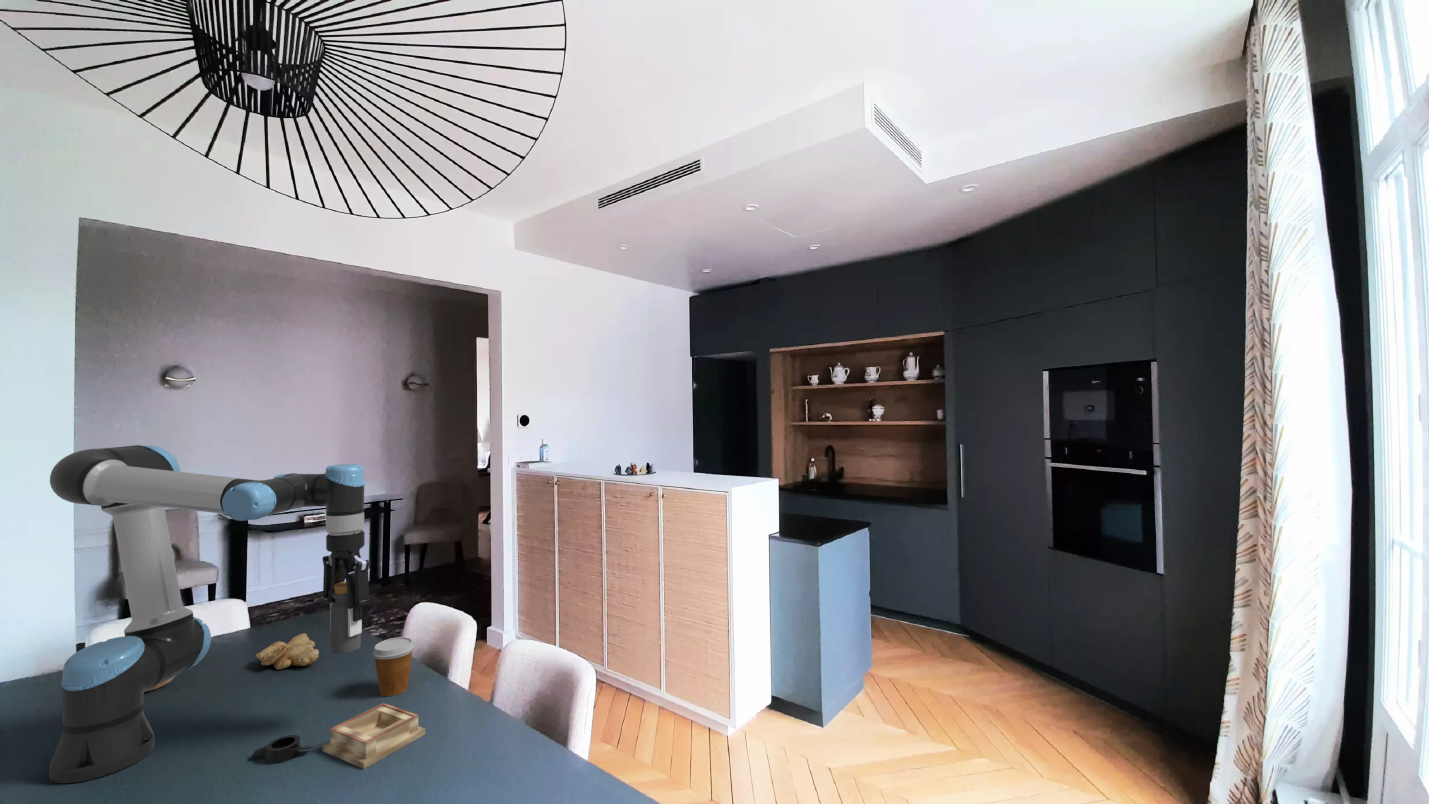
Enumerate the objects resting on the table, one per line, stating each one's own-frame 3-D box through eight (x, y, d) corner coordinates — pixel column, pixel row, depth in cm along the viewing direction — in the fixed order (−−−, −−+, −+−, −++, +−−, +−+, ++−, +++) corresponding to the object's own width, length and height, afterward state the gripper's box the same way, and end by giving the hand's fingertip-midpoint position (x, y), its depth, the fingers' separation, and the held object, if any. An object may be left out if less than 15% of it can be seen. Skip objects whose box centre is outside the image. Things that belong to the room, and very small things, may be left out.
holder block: (322, 750, 125) (322, 729, 125) (384, 719, 137) (384, 699, 137) (364, 769, 119) (364, 746, 119) (425, 734, 131) (425, 713, 131)
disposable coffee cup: (382, 703, 145) (382, 654, 145) (365, 692, 150) (365, 645, 150) (421, 688, 152) (421, 642, 152) (404, 678, 158) (404, 633, 158)
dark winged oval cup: (287, 741, 129) (287, 728, 129) (317, 752, 125) (317, 738, 125) (248, 761, 122) (248, 747, 122) (278, 773, 118) (278, 758, 118)
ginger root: (258, 653, 171) (266, 625, 171) (322, 656, 177) (329, 630, 178) (242, 678, 157) (250, 648, 157) (311, 680, 163) (319, 652, 164)
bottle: (346, 655, 132) (346, 588, 132) (324, 653, 134) (324, 586, 134) (366, 644, 138) (366, 580, 138) (345, 642, 139) (345, 579, 139)
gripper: (387, 532, 135) (388, 633, 135) (336, 525, 143) (337, 620, 143) (355, 539, 128) (355, 645, 128) (303, 531, 137) (304, 631, 136)
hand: (346, 631), depth 136 cm, fingers closed on bottle, 6 cm apart
